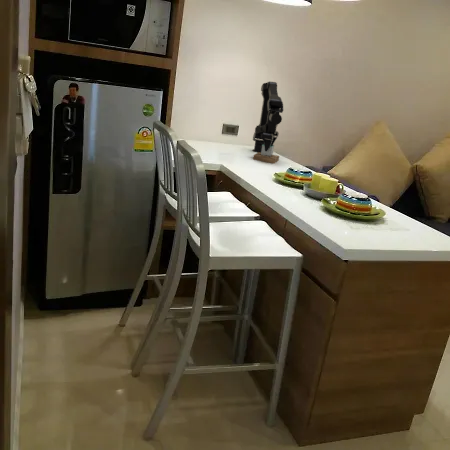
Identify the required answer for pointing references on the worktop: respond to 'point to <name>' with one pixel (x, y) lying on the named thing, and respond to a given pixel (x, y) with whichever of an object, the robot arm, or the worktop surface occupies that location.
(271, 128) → the robot arm
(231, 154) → the worktop surface
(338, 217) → the worktop surface
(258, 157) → the walnut box
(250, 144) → the worktop surface
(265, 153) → the block
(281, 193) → the worktop surface
